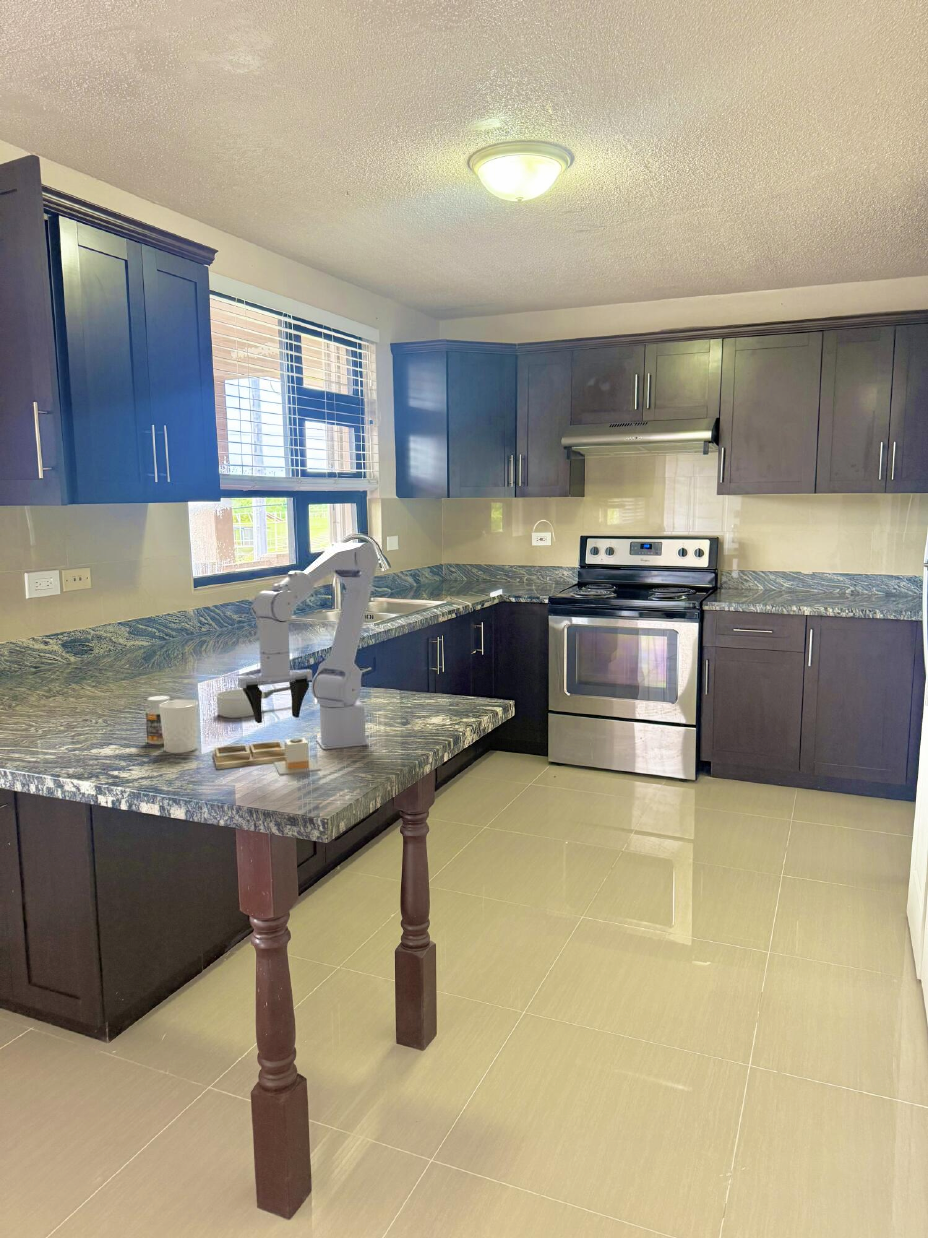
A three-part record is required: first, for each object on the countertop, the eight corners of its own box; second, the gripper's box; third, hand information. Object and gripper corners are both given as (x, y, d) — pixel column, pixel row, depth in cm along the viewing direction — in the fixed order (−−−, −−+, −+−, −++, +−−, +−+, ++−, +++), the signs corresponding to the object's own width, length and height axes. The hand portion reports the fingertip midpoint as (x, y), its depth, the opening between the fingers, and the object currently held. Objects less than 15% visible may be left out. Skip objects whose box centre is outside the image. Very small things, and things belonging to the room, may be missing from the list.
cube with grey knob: (305, 761, 170) (304, 736, 169) (308, 767, 166) (308, 741, 165) (285, 764, 168) (284, 738, 167) (288, 769, 164) (287, 743, 164)
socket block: (280, 748, 181) (280, 738, 180) (288, 761, 171) (287, 750, 171) (212, 755, 176) (212, 745, 175) (216, 769, 166) (216, 758, 166)
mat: (313, 759, 172) (313, 758, 172) (321, 771, 165) (321, 769, 165) (273, 764, 169) (273, 762, 169) (279, 775, 162) (279, 773, 162)
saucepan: (301, 711, 215) (301, 690, 214) (225, 723, 203) (224, 700, 203) (283, 703, 224) (283, 682, 224) (209, 714, 213) (208, 692, 212)
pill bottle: (146, 746, 184) (143, 701, 182) (148, 739, 189) (145, 696, 188) (173, 743, 185) (171, 699, 184) (174, 737, 191) (172, 694, 189)
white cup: (204, 743, 185) (202, 699, 184) (194, 754, 177) (192, 707, 176) (168, 744, 185) (165, 699, 184) (156, 754, 177) (153, 708, 176)
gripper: (302, 645, 172) (304, 710, 174) (232, 652, 165) (235, 720, 167) (315, 650, 166) (317, 717, 168) (243, 657, 159) (246, 727, 161)
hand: (277, 719), depth 167 cm, fingers open, 7 cm apart
